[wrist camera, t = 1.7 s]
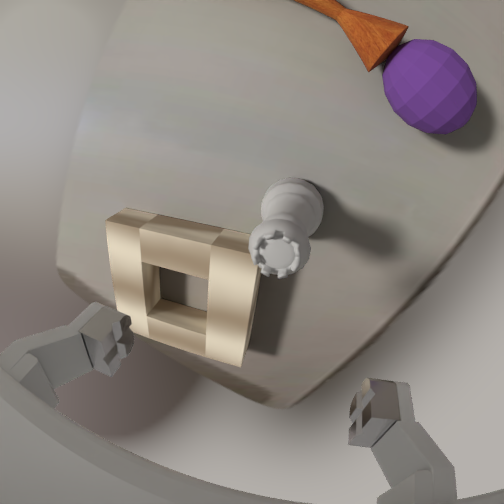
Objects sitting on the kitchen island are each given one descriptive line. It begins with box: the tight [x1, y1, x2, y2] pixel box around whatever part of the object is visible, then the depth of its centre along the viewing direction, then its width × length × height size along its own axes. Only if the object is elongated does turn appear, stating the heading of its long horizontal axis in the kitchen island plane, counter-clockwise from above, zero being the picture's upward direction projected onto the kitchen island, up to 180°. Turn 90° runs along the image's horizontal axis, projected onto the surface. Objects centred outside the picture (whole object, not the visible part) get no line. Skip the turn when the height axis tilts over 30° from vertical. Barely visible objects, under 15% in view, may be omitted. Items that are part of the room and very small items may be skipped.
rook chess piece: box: [248, 177, 324, 279], centre depth 18 cm, size 4×4×8 cm
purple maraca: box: [294, 0, 477, 134], centre depth 13 cm, size 6×6×20 cm
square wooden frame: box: [105, 208, 261, 367], centre depth 26 cm, size 12×13×3 cm
